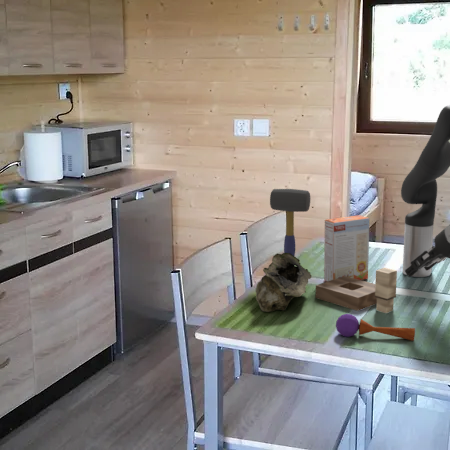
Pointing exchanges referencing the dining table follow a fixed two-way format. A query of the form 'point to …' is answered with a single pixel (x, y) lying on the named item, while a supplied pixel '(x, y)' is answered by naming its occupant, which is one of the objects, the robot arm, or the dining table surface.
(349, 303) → the seat board
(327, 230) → the cracker box
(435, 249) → the robot arm
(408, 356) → the dining table surface
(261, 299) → the hollow geode rock
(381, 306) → the beech leg
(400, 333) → the kendama
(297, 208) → the rubber mallet
